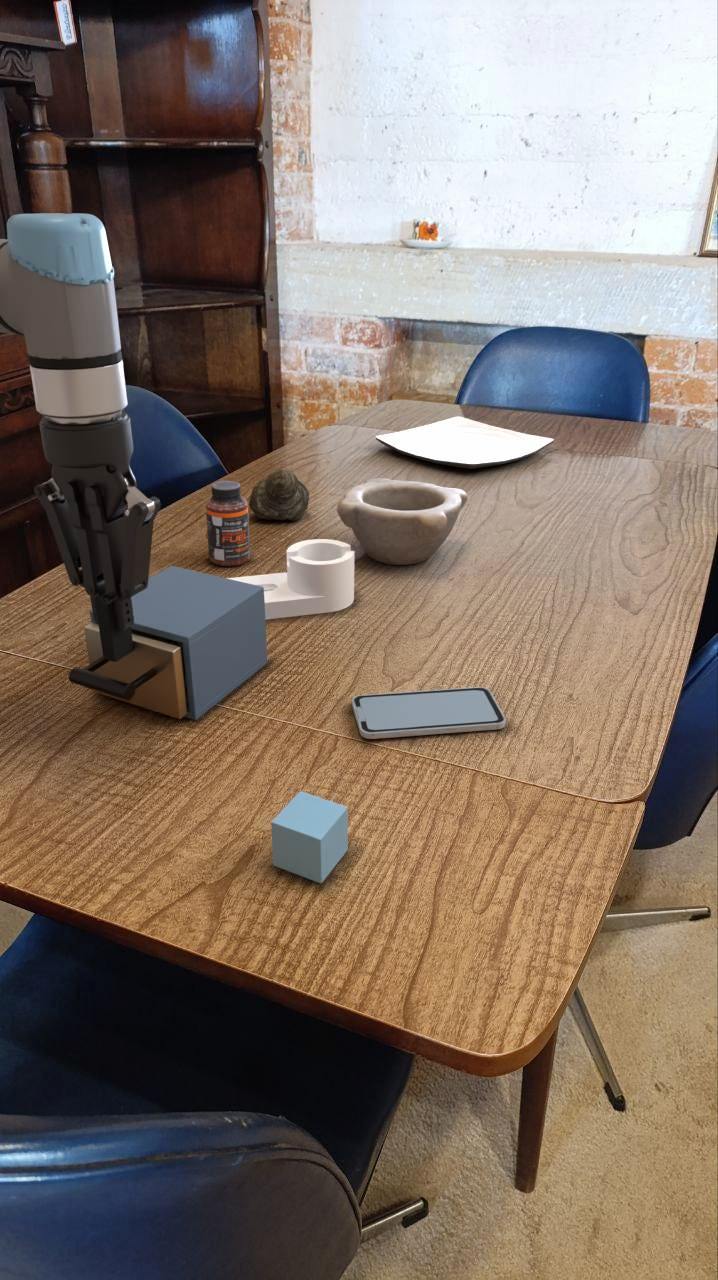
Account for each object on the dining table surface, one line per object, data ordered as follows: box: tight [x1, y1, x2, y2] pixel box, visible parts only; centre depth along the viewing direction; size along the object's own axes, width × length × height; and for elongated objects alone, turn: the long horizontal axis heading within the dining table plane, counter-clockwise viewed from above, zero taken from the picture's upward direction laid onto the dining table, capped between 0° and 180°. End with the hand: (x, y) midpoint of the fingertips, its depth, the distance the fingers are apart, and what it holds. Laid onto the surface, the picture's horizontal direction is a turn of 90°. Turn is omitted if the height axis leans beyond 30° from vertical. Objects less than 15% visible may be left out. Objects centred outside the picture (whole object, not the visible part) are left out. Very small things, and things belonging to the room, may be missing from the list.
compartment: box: [89, 565, 268, 721], centre depth 95 cm, size 14×13×10 cm
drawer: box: [68, 622, 188, 720], centre depth 92 cm, size 18×11×8 cm, turn 153°
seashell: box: [248, 469, 310, 522], centre depth 142 cm, size 11×12×10 cm
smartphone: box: [351, 686, 507, 740], centre depth 90 cm, size 7×1×15 cm
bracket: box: [226, 538, 355, 621], centre depth 113 cm, size 20×9×7 cm, turn 105°
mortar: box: [336, 477, 469, 566], centre depth 128 cm, size 17×17×9 cm
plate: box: [375, 416, 555, 469], centre depth 178 cm, size 29×29×3 cm
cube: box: [270, 790, 349, 884], centre depth 71 cm, size 4×4×4 cm
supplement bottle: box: [205, 480, 251, 567], centre depth 125 cm, size 6×6×11 cm
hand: (118, 654), depth 86 cm, fingers closed
